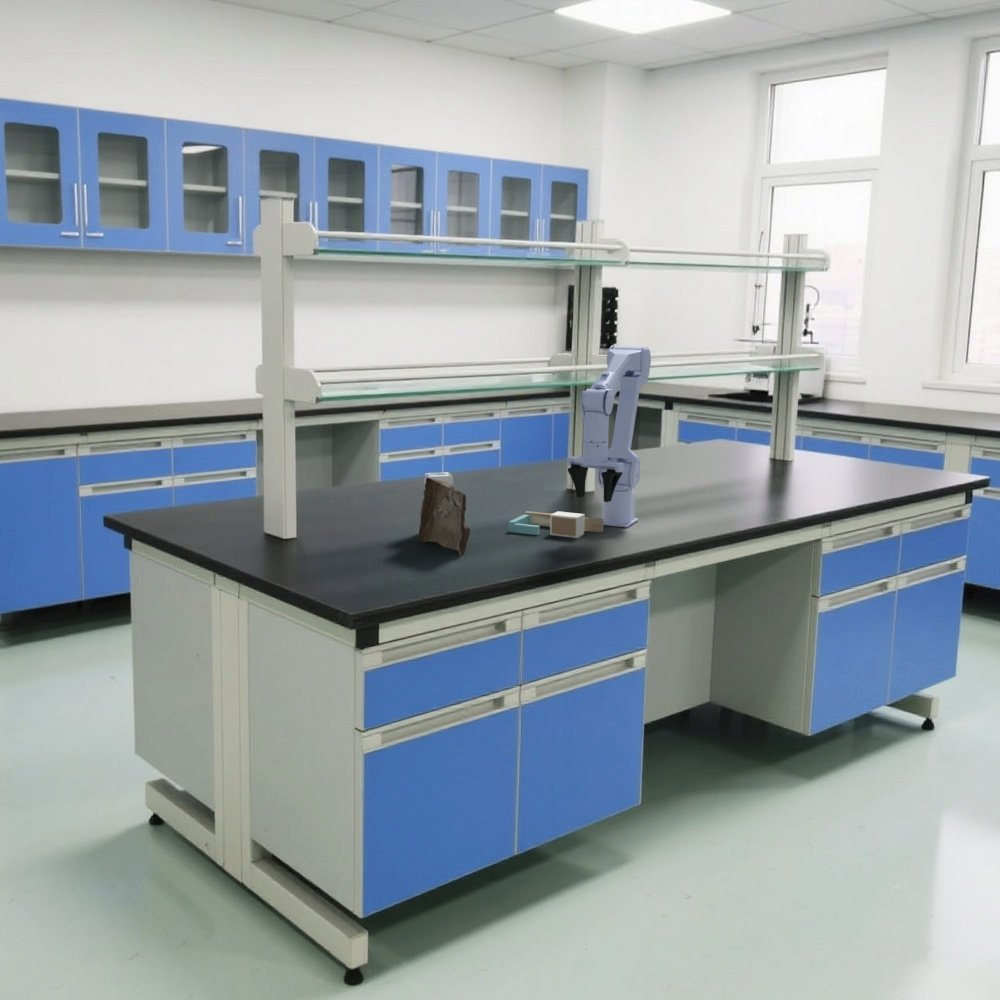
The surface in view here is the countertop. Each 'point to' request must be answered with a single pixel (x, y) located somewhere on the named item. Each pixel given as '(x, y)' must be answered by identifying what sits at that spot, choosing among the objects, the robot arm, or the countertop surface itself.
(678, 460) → the countertop surface
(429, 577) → the countertop surface
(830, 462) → the countertop surface
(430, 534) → the mineral sample
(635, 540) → the countertop surface
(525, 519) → the teal l-shaped block
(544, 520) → the wall board
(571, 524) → the cabinet block
